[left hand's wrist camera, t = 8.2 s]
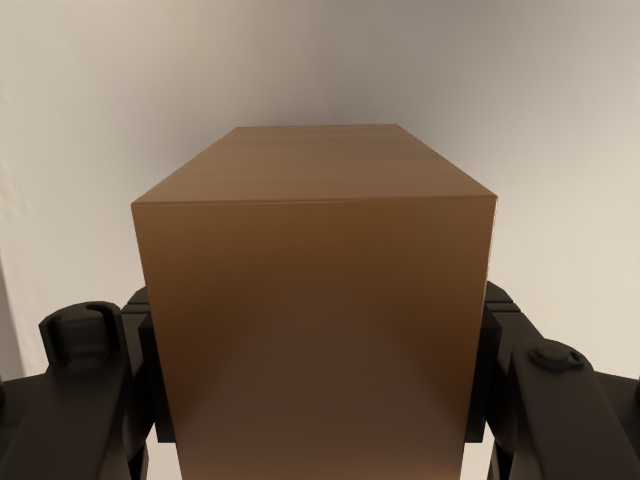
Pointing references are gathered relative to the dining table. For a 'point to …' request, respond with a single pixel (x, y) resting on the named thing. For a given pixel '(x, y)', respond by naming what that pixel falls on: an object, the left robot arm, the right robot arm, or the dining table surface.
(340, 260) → the beam
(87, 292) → the dining table surface
